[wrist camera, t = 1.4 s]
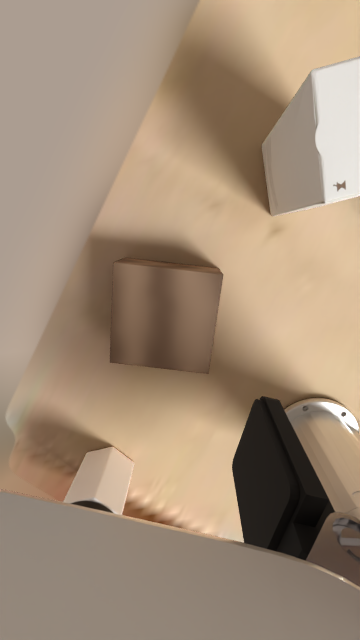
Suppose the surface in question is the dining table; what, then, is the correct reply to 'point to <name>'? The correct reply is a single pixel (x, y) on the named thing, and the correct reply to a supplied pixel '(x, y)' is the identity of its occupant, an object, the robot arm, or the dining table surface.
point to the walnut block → (164, 314)
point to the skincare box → (316, 142)
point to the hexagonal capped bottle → (102, 481)
